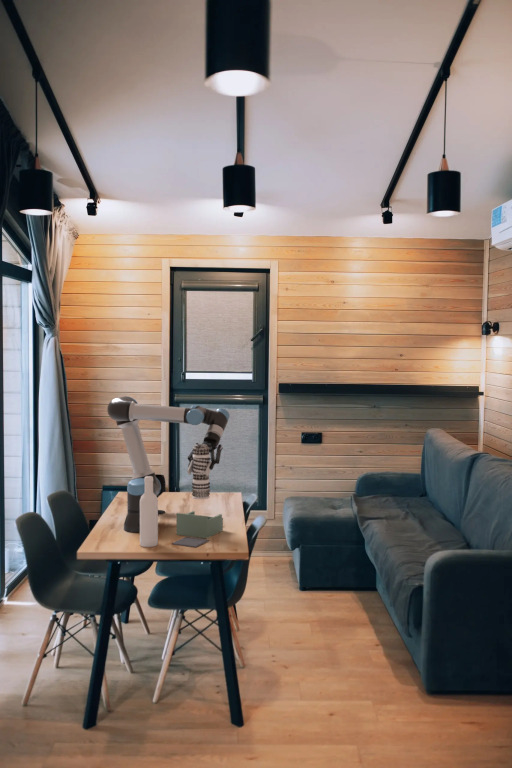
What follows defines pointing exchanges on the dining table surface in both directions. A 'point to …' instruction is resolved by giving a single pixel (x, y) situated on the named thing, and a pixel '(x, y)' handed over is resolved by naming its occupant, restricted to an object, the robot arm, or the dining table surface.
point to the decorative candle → (200, 472)
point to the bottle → (148, 515)
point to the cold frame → (198, 525)
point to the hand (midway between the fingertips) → (197, 473)
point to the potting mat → (190, 542)
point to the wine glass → (162, 482)
